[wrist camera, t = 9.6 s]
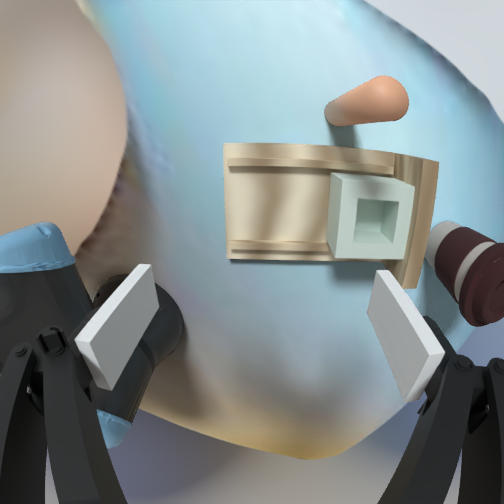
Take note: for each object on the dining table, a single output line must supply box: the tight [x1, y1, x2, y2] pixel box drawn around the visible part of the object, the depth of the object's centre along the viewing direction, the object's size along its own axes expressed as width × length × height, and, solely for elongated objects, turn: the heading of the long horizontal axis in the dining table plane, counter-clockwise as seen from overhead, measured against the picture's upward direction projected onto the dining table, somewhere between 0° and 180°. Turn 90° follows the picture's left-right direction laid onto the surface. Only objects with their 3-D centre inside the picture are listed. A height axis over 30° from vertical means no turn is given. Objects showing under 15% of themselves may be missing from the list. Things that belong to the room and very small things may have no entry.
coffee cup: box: [425, 221, 504, 327], centre depth 26 cm, size 10×10×15 cm
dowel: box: [324, 76, 409, 127], centre depth 21 cm, size 3×3×15 cm
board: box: [223, 143, 439, 289], centre depth 29 cm, size 22×14×8 cm, turn 90°
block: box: [326, 172, 415, 259], centre depth 29 cm, size 8×8×6 cm
